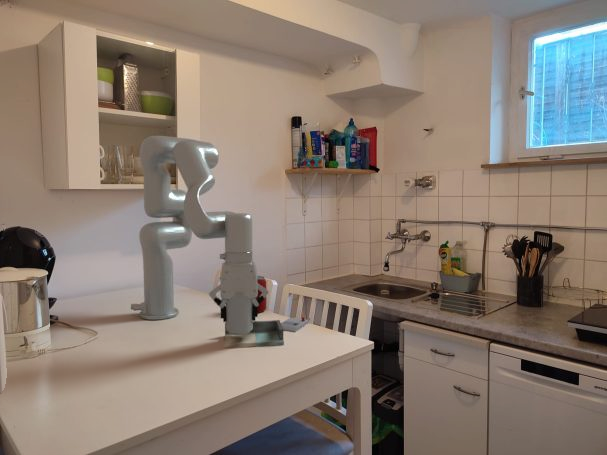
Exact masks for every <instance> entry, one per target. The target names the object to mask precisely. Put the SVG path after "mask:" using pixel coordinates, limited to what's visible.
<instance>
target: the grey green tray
mask: <svg viewBox="0 0 607 455" xmlns="http://www.w3.org/2000/svg"><path fill="white" fill-rule="evenodd" d="M281 323H282V322H281V320H280V319H275V320H274V319H273V320H255V321H253V329H252V330H251V331H250V332H249V333H248V334H244V335H232V334H230V333H229V332H228V331H226V322H224V333H225V334H224V348H225V349H229V348H230V349H232V348H249V347H251V348H252V347H265V346H268V347H269V346H284V345H285V340H284V330H283V327H282V325H281Z"/></svg>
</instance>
